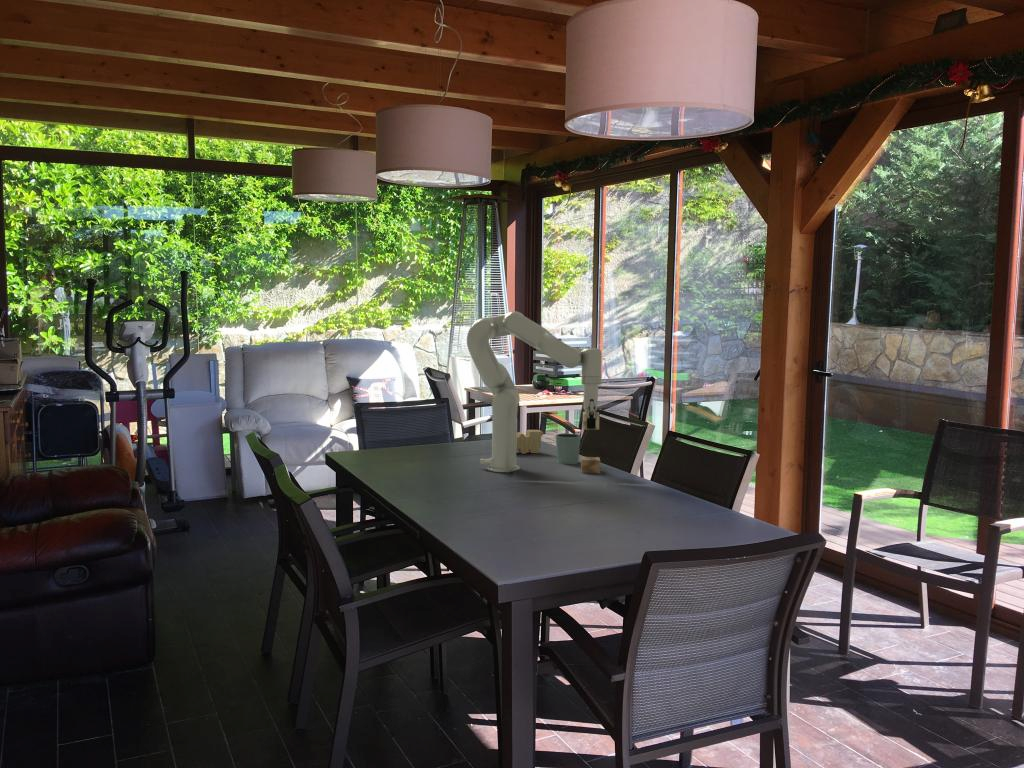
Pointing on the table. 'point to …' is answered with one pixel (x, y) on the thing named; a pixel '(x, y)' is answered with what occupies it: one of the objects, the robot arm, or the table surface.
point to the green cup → (568, 448)
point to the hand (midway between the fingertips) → (590, 427)
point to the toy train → (529, 441)
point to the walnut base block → (590, 465)
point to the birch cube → (585, 416)
